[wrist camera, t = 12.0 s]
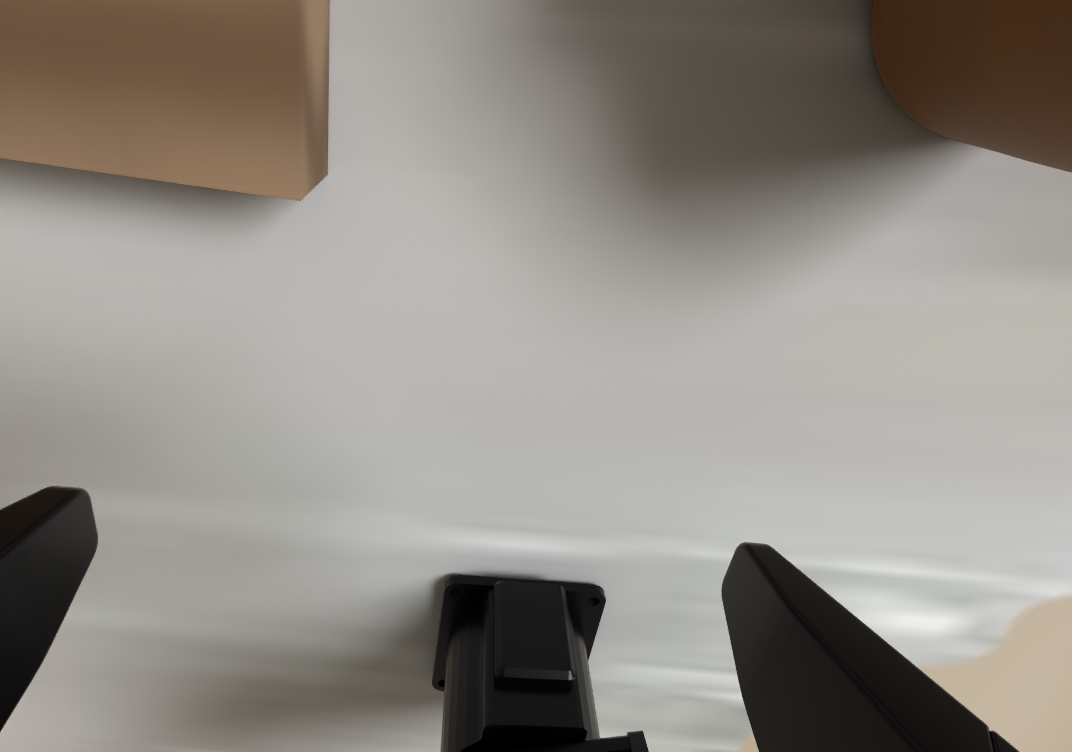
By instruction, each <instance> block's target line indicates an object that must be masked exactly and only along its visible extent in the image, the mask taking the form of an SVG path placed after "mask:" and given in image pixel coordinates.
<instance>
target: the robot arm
mask: <svg viewBox="0 0 1072 752" xmlns="http://www.w3.org/2000/svg"><path fill="white" fill-rule="evenodd" d="M97 544H98V533H97V528H96V523H95V518H94V513H93V509H92V504H91V499H90V496H89V494H88V492H87V491H86V490H84V489H82V488H74V487H62V486H50V487H47V488H44V489H42V490H40V491H38V492H36V493H34V494H32V495H30V496H28V497H25V498H23V499H21V500H19V501H17V502H15V503H13V504H11V505H9V506H7V507H5V508H3V509H1V510H0V732H1V730H2V728H3V727H4V725H5V723H6V722H7V720H8V719H9V717H10V715H11V714H12V712H13V710H14V709H15V707H16V706H17V704H18V702H19V701H20V699H21V697H22V696H23V694H24V693H25V691H26V689H27V688H28V686H29V684H30V683H31V681H32V679H33V678H34V676H35V674H36V673H37V671H38V669H39V667H40V666H41V664H42V662H43V660H44V658H45V656H46V654H47V653H48V651H49V649H50V647H51V645H52V643H53V641H54V638H55V636H56V634H57V632H58V630H59V628H60V626H61V624H62V622H63V620H64V618H65V615H66V613H67V611H68V609H69V607H70V605H71V603H72V601H73V599H74V597H75V594H76V592H77V590H78V588H79V586H80V584H81V582H82V580H83V578H84V576H85V574H86V571H87V569H88V567H89V565H90V563H91V561H92V559H93V557H94V554H95V552H96V549H97ZM454 588H461V589H454ZM591 597H595V598H591ZM722 601H723V605H724V610H725V615H726V620H727V625H728V630H729V635H730V640H731V645H732V650H733V655H734V660H735V665H736V670H737V675H738V680H739V684H740V689H741V693H742V697H743V701H744V704H745V708H746V711H747V715H748V718H749V721H750V724H751V727H752V731H753V734H754V737H755V740H756V743H757V747H758V750H759V752H1019V751H1018V750H1017V749H1016V748H1014V747H1013V746H1012V745H1011V744H1010V743H1008V742H1007V741H1006V740H1005V739H1004V738H1002V737H1001V736H1000V735H999V734H997V733H996V732H995V731H989V728H988V726H987V725H986V724H985V723H984V722H983V721H982V720H980V719H979V718H978V717H977V716H975V715H974V714H973V713H972V712H971V711H969V710H968V709H967V708H966V707H965V706H963V705H962V704H961V703H959V702H958V701H957V700H956V699H955V698H954V697H952V696H951V695H950V694H949V693H948V692H946V691H945V690H944V689H943V688H942V687H940V686H939V685H938V684H936V683H935V682H934V681H933V680H932V679H930V678H929V677H928V676H927V675H926V674H925V673H923V672H922V671H921V670H920V669H919V668H917V667H916V666H915V665H914V664H912V663H911V662H910V661H909V660H908V659H906V658H905V657H904V656H903V655H902V654H900V653H899V652H898V651H897V650H896V649H894V648H893V647H892V646H891V645H889V644H888V643H887V642H886V641H885V640H883V639H882V638H881V637H880V636H879V635H877V634H876V633H875V632H874V631H873V630H871V629H870V628H869V627H868V626H866V625H865V624H864V623H863V622H862V621H860V620H859V619H858V618H857V617H856V616H854V615H853V614H852V613H851V612H850V611H848V610H847V609H846V608H845V607H843V606H842V605H841V604H840V603H839V602H837V601H836V600H835V599H834V598H833V597H831V596H830V595H829V594H828V593H827V592H825V591H824V590H823V589H822V588H820V587H819V586H818V585H817V584H816V583H814V582H813V581H812V580H811V579H810V578H808V577H807V576H806V575H805V574H804V573H802V572H801V571H800V570H799V569H797V568H796V567H795V566H794V565H793V564H791V563H790V562H789V561H788V560H787V559H785V558H784V557H783V556H782V555H781V554H779V553H778V552H777V551H776V550H774V549H773V548H772V547H771V546H769V545H767V544H761V543H748V542H744V543H741V544H740V545H739V546H738V547H737V548H736V550H735V553H734V555H733V558H732V560H731V562H730V565H729V567H728V570H727V572H726V575H725V577H724V579H723V583H722ZM605 603H606V598H605V593H604V590H603V588H601V587H600V586H597V585H587V584H572V583H558V582H544V581H529V580H515V579H500V578H486V577H472V576H453V577H450V578H449V579H448V580H446V583H445V588H444V595H443V603H442V610H441V618H440V625H439V633H438V640H437V648H436V655H435V663H434V670H433V680H432V684H433V687H434V688H435V689H437V690H441V691H444V707H443V723H442V738H441V752H649V751H648V747H647V744H646V740H645V737H644V733H643V731H635V732H627V735H626V736H617V737H609V738H600V736H599V729H598V723H597V717H596V710H595V704H594V697H593V691H592V685H591V678H590V672H589V665H588V659H589V656H590V653H591V649H592V646H593V643H594V639H595V636H596V633H597V629H598V626H599V623H600V619H601V616H602V613H603V609H604V606H605Z"/></svg>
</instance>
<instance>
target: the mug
mask: <svg viewBox="0 0 1072 752" xmlns="http://www.w3.org/2000/svg"><path fill="white" fill-rule="evenodd" d="M871 28H872V45H873V51H874V56H875V62H876V65H877V68H878V71H879V74H880V77H881V80H882V82H883V84H884V86H885V88H886V90H887V92H888V93H889V95H890V96H891V97H892V99H893V100H894V102H895V103H896V104H897V106H898V107H899V108H900V109H901V110H902V111H903V112H904V113H906V114H907V115H908V116H909V117H910V118H911V119H913V120H914V121H915V122H917V123H918V124H920V125H921V126H923V127H924V128H926V129H928V130H930V131H932V132H934V133H937V134H939V135H941V136H944V137H946V138H949V139H952V140H955V141H959V142H962V143H966V144H970V145H974V146H978V147H981V148H985V149H989V150H992V151H996V152H999V153H1003V154H1006V155H1009V156H1013V157H1016V158H1019V159H1023V160H1027V161H1030V162H1034V163H1038V164H1041V165H1045V166H1049V167H1053V168H1057V169H1060V170H1064V171H1068V172H1072V0H873V6H872V20H871Z"/></svg>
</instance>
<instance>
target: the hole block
mask: <svg viewBox="0 0 1072 752" xmlns="http://www.w3.org/2000/svg"><path fill="white" fill-rule="evenodd" d="M329 5H330V0H0V158H3V159H10V160H17V161H24V162H31V163H38V164H45V165H52V166H59V167H66V168H73V169H80V170H87V171H94V172H101V173H108V174H115V175H122V176H129V177H136V178H143V179H150V180H157V181H164V182H171V183H178V184H185V185H192V186H199V187H206V188H213V189H220V190H227V191H234V192H241V193H248V194H256V195H263V196H270V197H277V198H284V199H291V200H298V201H301V200H302V199H303V198H304V197H305V196H306V195H307V194H308V193H309V192H310V191H311V190H312V189H313V188H314V187H315V186H316V185H317V184H318V183H319V182H320V181H322V180H323V179H324V178H325V177H326V176H327V175H328V92H329Z"/></svg>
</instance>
